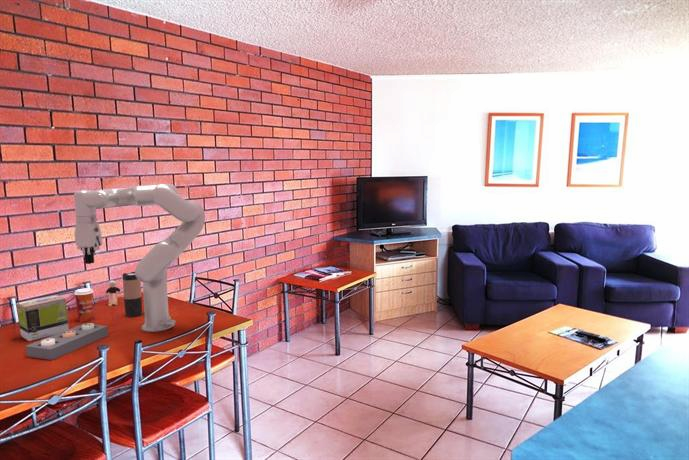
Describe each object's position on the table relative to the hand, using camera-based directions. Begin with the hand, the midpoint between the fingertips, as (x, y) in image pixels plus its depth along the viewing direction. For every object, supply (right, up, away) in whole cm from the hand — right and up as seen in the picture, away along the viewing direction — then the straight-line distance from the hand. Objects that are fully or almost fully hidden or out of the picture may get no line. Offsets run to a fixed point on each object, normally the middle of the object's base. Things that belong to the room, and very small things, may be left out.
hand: (89, 263), depth 193 cm
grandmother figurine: (-10, -24, +41) cm, 49 cm away
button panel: (0, -31, -14) cm, 34 cm away
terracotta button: (0, -30, -14) cm, 33 cm away
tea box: (-18, -30, -1) cm, 35 cm away
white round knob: (-3, -31, -23) cm, 38 cm away
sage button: (+3, -29, -6) cm, 29 cm away
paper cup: (-11, -27, +18) cm, 34 cm away
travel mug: (+7, -26, +24) cm, 37 cm away
